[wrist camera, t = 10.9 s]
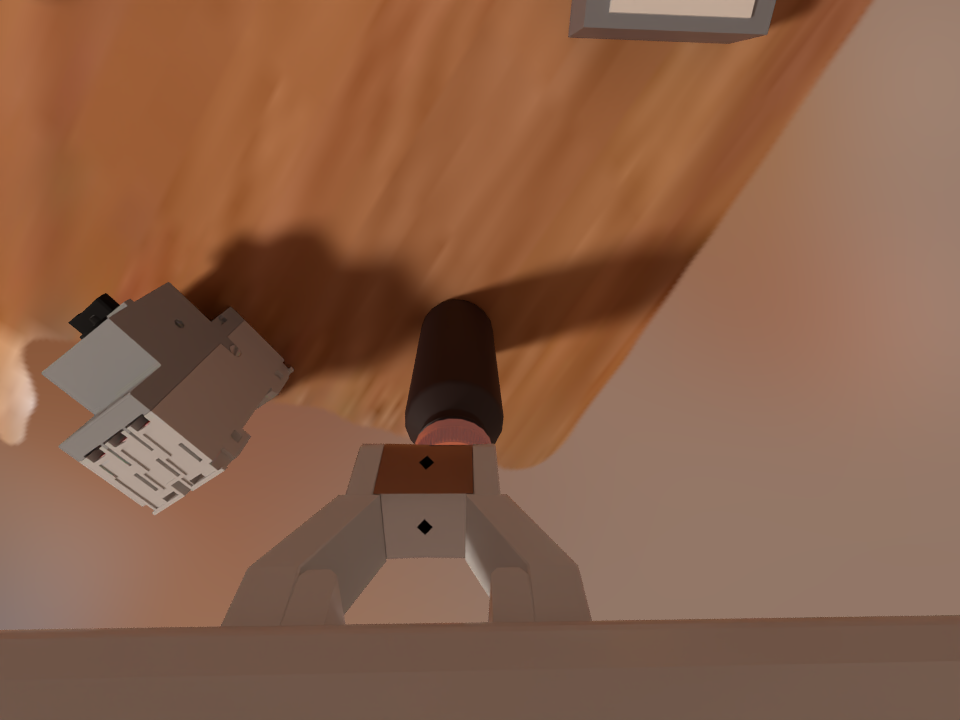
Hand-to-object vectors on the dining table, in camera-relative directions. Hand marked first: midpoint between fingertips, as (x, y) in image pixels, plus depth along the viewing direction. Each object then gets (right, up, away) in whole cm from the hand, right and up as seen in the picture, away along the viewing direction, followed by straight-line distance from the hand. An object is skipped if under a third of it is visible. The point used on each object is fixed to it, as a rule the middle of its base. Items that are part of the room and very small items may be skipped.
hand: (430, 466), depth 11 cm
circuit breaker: (-24, +5, +34) cm, 42 cm away
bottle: (-1, +5, +35) cm, 35 cm away
